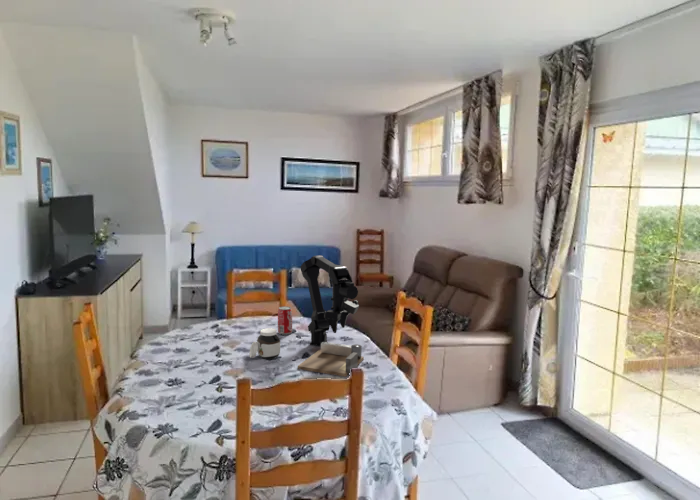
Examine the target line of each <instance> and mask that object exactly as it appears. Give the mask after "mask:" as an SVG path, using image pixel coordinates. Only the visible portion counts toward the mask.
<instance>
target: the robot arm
mask: <svg viewBox="0 0 700 500" xmlns="http://www.w3.org/2000/svg"><path fill="white" fill-rule="evenodd" d="M321 269H322V270H323V271H324V272H326V273H327V274H328V277H329V278H330V279H331V280H330V282H329V283H330V285H332V297H331V298H330V301H332V306H331V307H330V309H328V310H327V311H326V310H325V309H324V305H323V300H322V295H321V289H320V285H319V280H318V279H319V276H320V270H321ZM300 271H301V274H302V277H303V278H304V280H306V282H307V286H308V291H309V292H308V293H309V296H310V302H311V307H312V314H311V317H310V320H311V321H310V323H309V324H308V326H307V329H308V332H310V338H311V339H310V341H311V342H309V345H311V346H320V347H321V343H322V342H328V334H327V331H329V330H330V328H331V330H332V333H333V334H336V333H337V330H338V323H339V322H340V326H341V328H345V326H346V323H347V319H348V316H349V315H350V314H351V315H355V313H357V312H358V310H359V308H360V305H359V300H357V299H356V298H357V297H358V295H359V289H358V288H357V287H356V285H355V282H353V278H352V276H351V274H350V272H349V270H348V267H347V266H344V265H342V264H341V265H340V264H335V263H334V262H332V261H330V260H328V259H327V258H325V257H324V256H323V255H319V254H318V255H313V256H311V257H310V258H309V259H307V260H305V261H304V262H303V263H302V264H301V265H300ZM350 300H353V301H350Z"/></svg>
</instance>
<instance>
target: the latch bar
mask: <svg viewBox="0 0 700 500" xmlns="http://www.w3.org/2000/svg"><path fill="white" fill-rule="evenodd" d="M320 350H321V352H323V353H330V354H336V355H343V356H349V355H350V354H352V353H353V352H355V353H358V359H359V358H361V356H362V345H361V344H358V343H355V344H351V345H348V344H342V343H336V342H335V343H334V342H328V341H327V342H322V343H321V346H320Z"/></svg>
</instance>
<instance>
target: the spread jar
mask: <svg viewBox="0 0 700 500" xmlns="http://www.w3.org/2000/svg"><path fill="white" fill-rule="evenodd" d="M277 333H278V329H276V328H271V327H270V328H267V327H266V328H263V329H261V330H260V335H259V336H257V338H256V341H253V342H252V343H251V345H250V349H249V358H251V359H254V358H255V357H256V355H258V357H259V358H261V359H262V360H273V359H276V358H278V357H279V355H280V354H281V339H280V337H279V335H278V334H277Z"/></svg>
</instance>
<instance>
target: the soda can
mask: <svg viewBox="0 0 700 500" xmlns="http://www.w3.org/2000/svg"><path fill="white" fill-rule="evenodd" d="M277 333H278V334H279V335H281V334H282V335H283V336H287V334H288V335H291V334H292V333H293V310H292V307H291V306H287V305H286V306H285V305H284V306H279V307H278V310H277Z"/></svg>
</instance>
